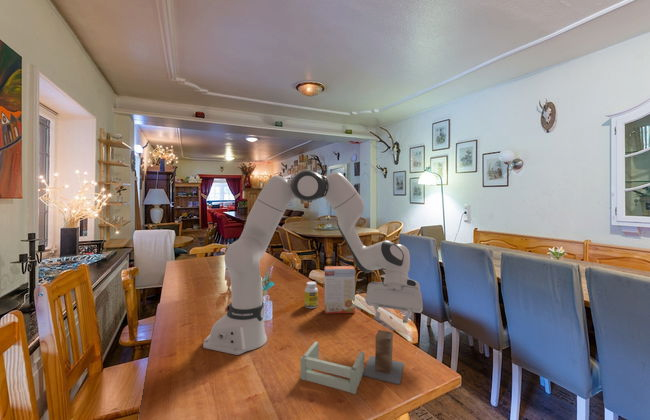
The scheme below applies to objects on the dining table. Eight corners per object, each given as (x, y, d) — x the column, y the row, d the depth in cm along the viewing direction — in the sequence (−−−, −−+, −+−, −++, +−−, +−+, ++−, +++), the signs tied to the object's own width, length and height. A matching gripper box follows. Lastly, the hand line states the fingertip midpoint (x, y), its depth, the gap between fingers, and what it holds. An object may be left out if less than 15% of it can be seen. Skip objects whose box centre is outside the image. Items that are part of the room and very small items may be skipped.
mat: (362, 375, 87) (362, 374, 87) (370, 356, 97) (370, 355, 97) (399, 384, 83) (399, 383, 83) (404, 364, 93) (404, 362, 93)
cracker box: (353, 308, 138) (353, 265, 137) (355, 313, 132) (355, 268, 131) (324, 308, 138) (324, 265, 136) (324, 313, 131) (324, 268, 130)
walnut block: (375, 370, 89) (375, 336, 88) (377, 362, 93) (378, 329, 92) (389, 374, 87) (390, 339, 87) (392, 366, 91) (392, 332, 91)
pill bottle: (306, 309, 136) (306, 285, 136) (303, 304, 143) (303, 281, 142) (319, 308, 138) (319, 284, 137) (316, 303, 144) (316, 280, 144)
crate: (300, 379, 85) (300, 357, 85) (314, 360, 95) (314, 341, 94) (355, 394, 79) (355, 371, 79) (364, 372, 89) (364, 352, 88)
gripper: (367, 276, 110) (360, 311, 102) (423, 283, 102) (421, 321, 94) (369, 284, 114) (363, 318, 106) (424, 291, 107) (421, 328, 98)
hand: (391, 320), depth 100 cm, fingers open, 8 cm apart
